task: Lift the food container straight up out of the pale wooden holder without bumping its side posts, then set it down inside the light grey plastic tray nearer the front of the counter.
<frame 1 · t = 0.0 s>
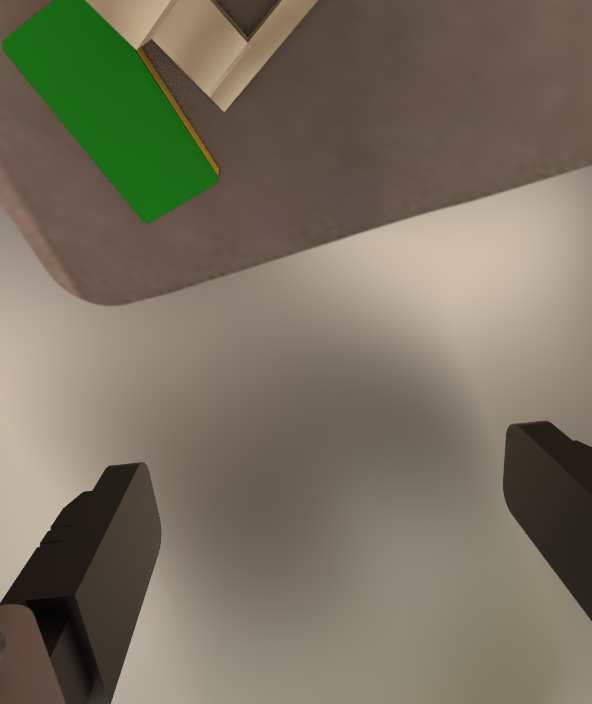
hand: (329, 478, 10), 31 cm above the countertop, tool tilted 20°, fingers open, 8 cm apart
dish sponge: (127, 110, 34), on the countertop
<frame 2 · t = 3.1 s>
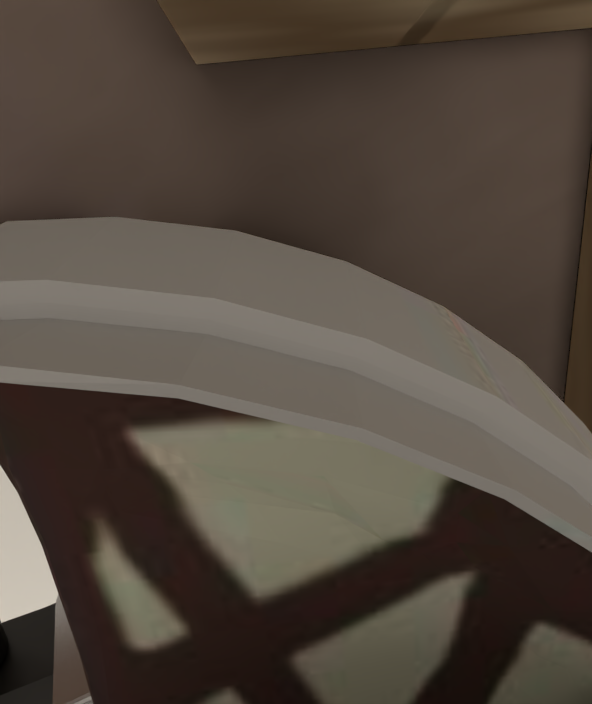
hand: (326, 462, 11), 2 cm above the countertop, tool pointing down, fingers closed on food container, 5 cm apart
holder: (333, 414, 13), on the countertop
food container: (332, 411, 13), on the countertop, touching gripper
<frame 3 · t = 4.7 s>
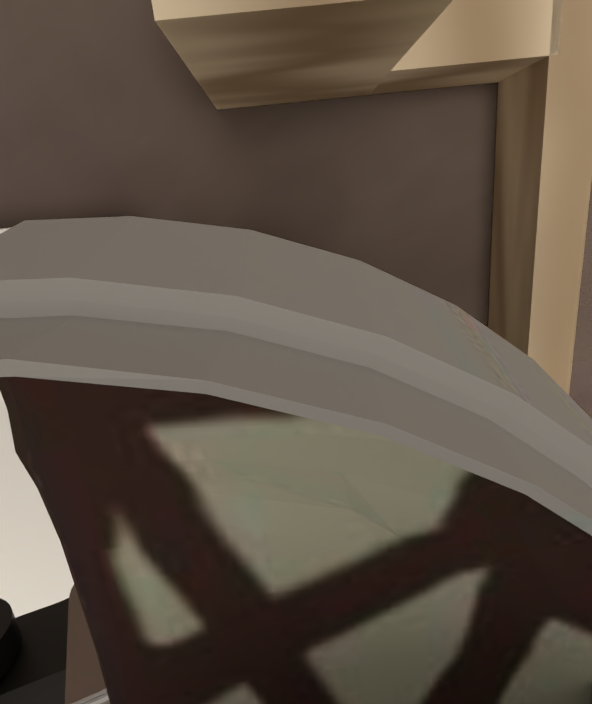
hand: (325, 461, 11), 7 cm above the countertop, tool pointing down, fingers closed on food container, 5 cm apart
holder: (315, 360, 18), on the countertop
food container: (336, 410, 14), point 5 cm above the countertop, touching gripper
tray: (29, 458, 19), on the countertop
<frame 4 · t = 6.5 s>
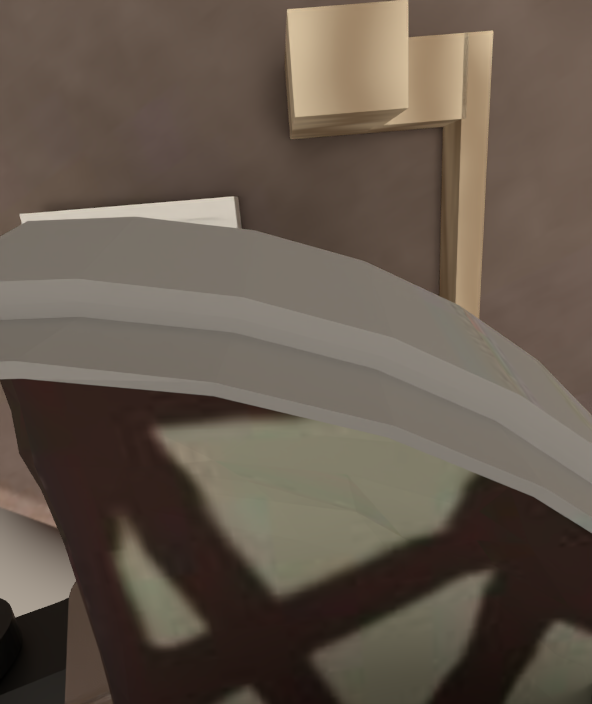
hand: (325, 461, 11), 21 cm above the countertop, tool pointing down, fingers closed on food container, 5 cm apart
holder: (338, 284, 31), on the countertop
food container: (338, 411, 13), point 18 cm above the countertop, touching gripper
tray: (166, 342, 31), on the countertop
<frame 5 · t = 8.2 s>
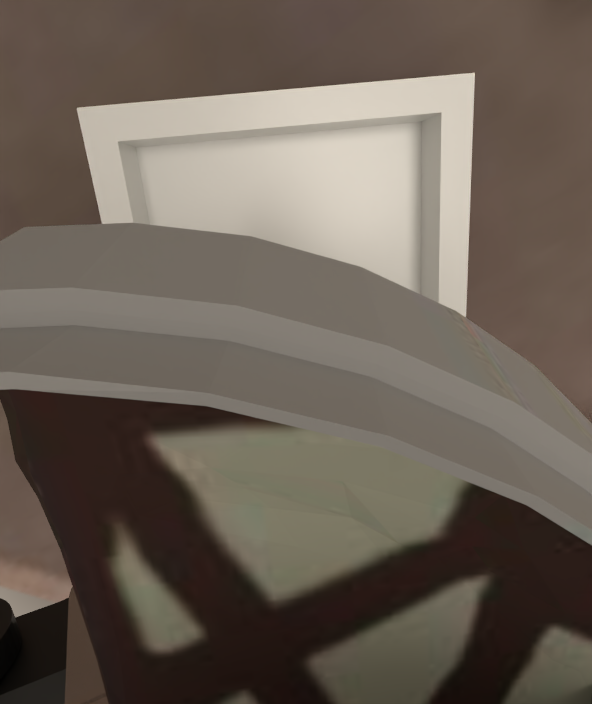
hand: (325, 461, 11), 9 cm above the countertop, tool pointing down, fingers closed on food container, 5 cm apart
food container: (337, 412, 13), point 7 cm above the countertop, touching gripper
tray: (297, 343, 20), on the countertop
when the fingers open (5 cm above the countertop, at t = 9.7 s): food container stays where it is, resting on tray.
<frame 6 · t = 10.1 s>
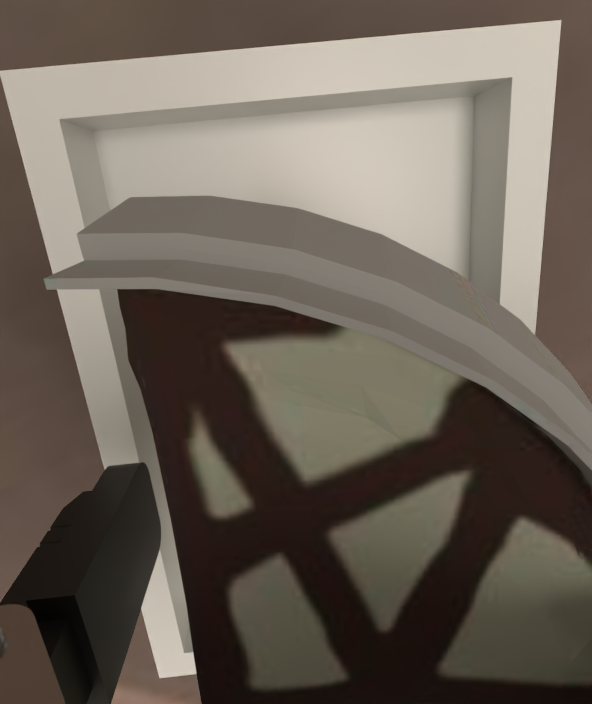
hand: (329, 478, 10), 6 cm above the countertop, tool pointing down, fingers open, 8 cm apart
food container: (359, 387, 15), point 1 cm above the countertop, touching gripper, tray
tray: (307, 380, 16), on the countertop
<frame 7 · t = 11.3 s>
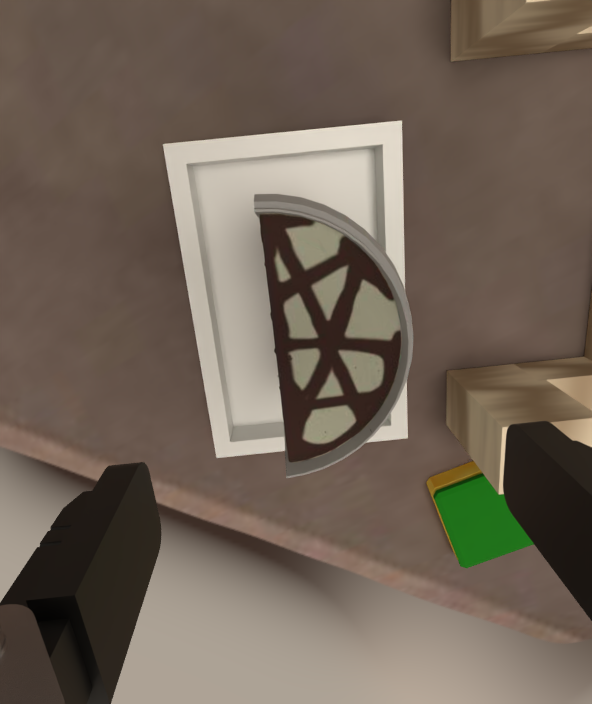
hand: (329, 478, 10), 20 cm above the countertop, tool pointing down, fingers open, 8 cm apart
holder: (489, 228, 28), on the countertop
dish sponge: (524, 478, 34), on the countertop
food container: (323, 296, 28), point 1 cm above the countertop, touching tray
tray: (296, 296, 29), on the countertop
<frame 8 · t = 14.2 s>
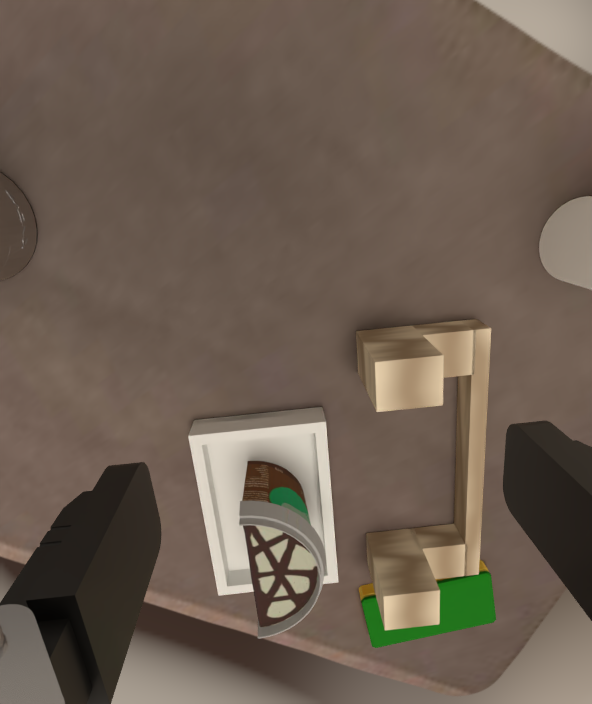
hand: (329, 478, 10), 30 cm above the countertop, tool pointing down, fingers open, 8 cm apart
holder: (387, 455, 45), on the countertop
dish sponge: (422, 592, 52), on the countertop
food container: (285, 497, 45), point 1 cm above the countertop, touching tray
tray: (268, 494, 46), on the countertop
cylindrical container: (578, 240, 39), on the countertop
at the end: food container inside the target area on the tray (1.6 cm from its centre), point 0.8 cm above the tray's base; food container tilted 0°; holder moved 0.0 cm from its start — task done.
